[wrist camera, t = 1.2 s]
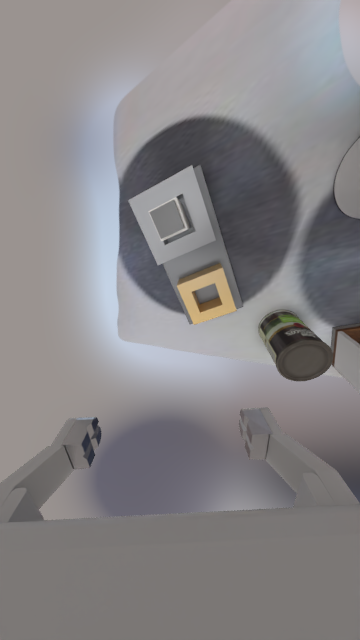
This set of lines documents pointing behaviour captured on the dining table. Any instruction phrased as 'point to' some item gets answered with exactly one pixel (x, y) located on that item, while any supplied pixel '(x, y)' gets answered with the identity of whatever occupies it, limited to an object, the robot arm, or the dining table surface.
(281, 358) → the coffee can
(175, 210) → the plug
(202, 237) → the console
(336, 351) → the striped beige pillar
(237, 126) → the dining table surface
